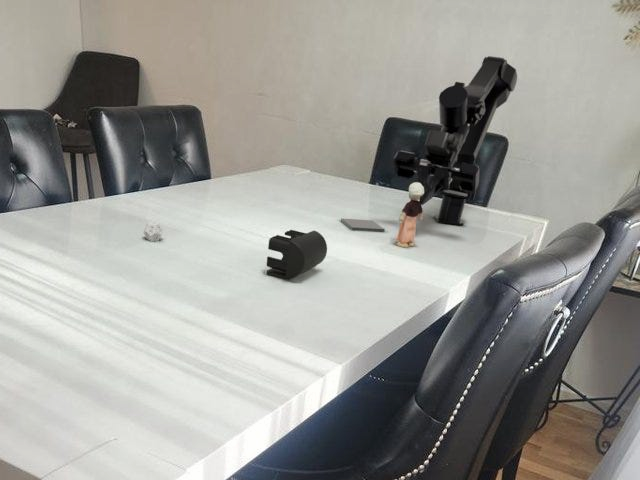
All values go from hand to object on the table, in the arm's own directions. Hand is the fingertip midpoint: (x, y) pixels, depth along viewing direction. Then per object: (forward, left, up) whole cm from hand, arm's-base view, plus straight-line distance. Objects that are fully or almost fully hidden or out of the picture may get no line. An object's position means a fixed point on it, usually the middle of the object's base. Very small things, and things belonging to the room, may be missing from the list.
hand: (420, 203), depth 141 cm
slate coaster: (-8, -11, -8) cm, 15 cm away
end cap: (+35, -27, -8) cm, 45 cm away
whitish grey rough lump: (+24, -54, -8) cm, 60 cm away
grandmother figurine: (+5, -3, -8) cm, 10 cm away
